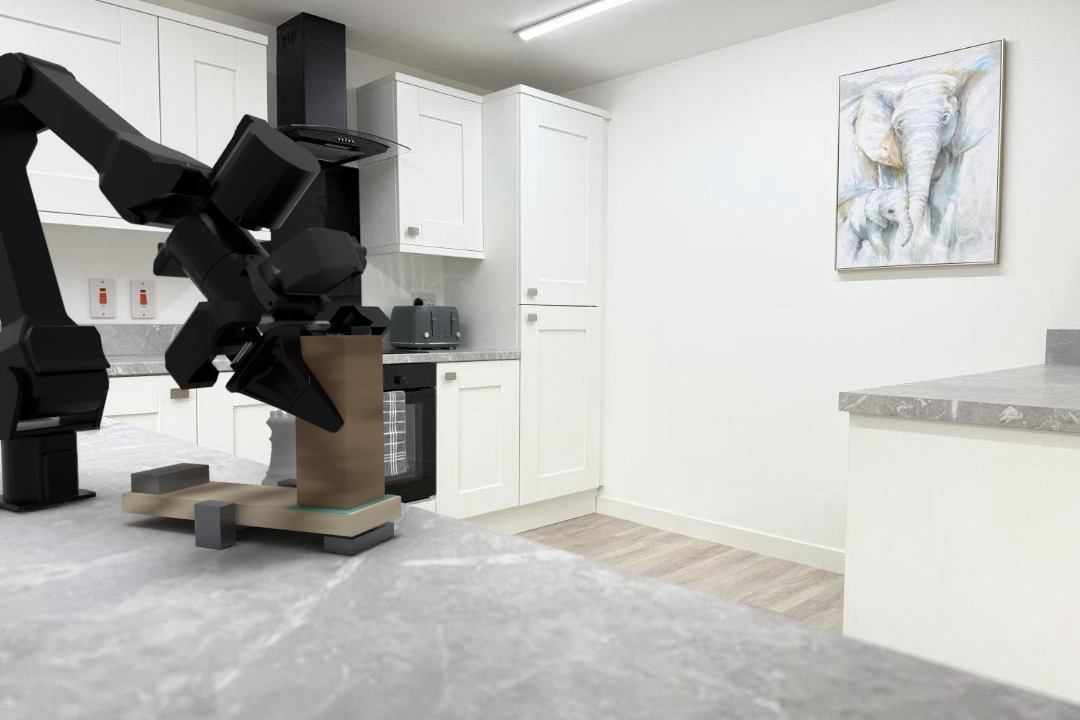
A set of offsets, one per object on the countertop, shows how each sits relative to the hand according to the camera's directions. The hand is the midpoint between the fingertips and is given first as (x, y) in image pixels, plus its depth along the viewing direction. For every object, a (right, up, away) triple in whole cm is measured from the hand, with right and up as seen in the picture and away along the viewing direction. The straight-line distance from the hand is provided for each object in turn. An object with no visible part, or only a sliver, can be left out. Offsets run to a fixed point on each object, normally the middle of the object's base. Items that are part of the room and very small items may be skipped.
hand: (359, 424), depth 55 cm
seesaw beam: (-9, -8, +4) cm, 13 cm away
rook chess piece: (-10, -8, +15) cm, 20 cm away
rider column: (-2, -6, +1) cm, 6 cm away
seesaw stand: (-4, -9, +2) cm, 10 cm away
